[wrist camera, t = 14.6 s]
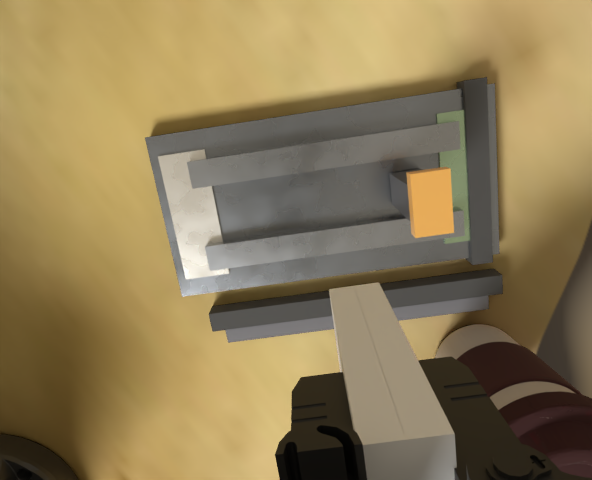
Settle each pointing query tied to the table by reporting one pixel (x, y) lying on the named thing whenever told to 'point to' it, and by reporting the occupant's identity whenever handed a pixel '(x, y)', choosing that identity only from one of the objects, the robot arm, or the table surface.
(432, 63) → the table surface
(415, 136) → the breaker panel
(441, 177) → the lever
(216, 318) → the long dark grey rail
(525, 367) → the coffee cup
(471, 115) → the grey panel edge rail
